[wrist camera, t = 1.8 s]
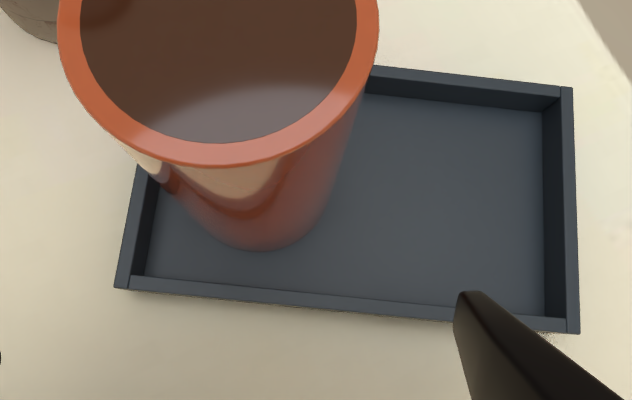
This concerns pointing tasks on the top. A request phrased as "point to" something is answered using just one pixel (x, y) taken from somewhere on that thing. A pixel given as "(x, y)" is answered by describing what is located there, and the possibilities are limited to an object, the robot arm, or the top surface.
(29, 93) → the top surface
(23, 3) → the thermos bottle
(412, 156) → the tray
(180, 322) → the top surface
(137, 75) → the tumbler
